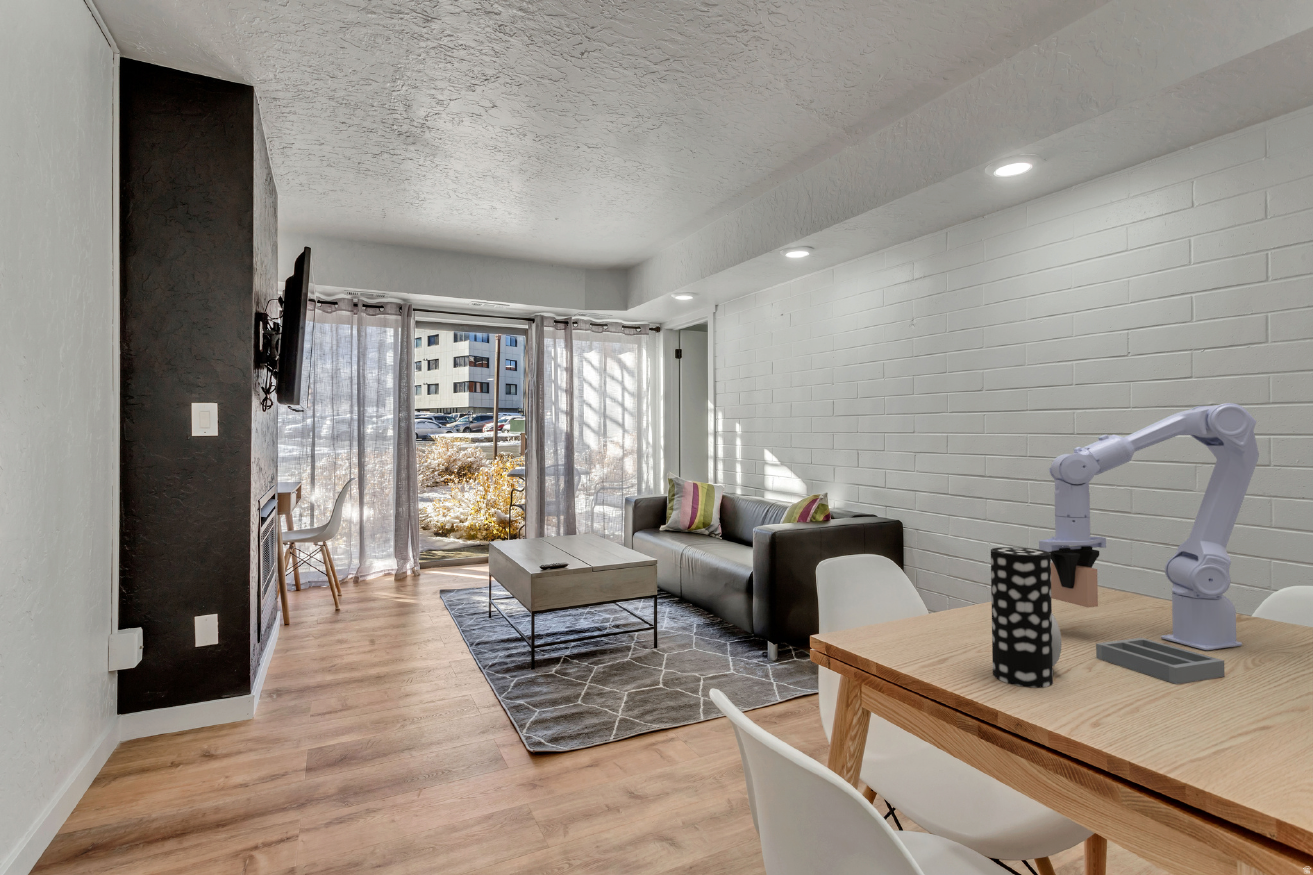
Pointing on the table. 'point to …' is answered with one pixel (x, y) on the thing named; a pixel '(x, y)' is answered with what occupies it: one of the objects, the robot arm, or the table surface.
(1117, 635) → the table surface
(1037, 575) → the spotted tube
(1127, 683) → the table surface
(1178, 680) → the dish rack
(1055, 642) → the donut
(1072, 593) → the brick block
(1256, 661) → the table surface
